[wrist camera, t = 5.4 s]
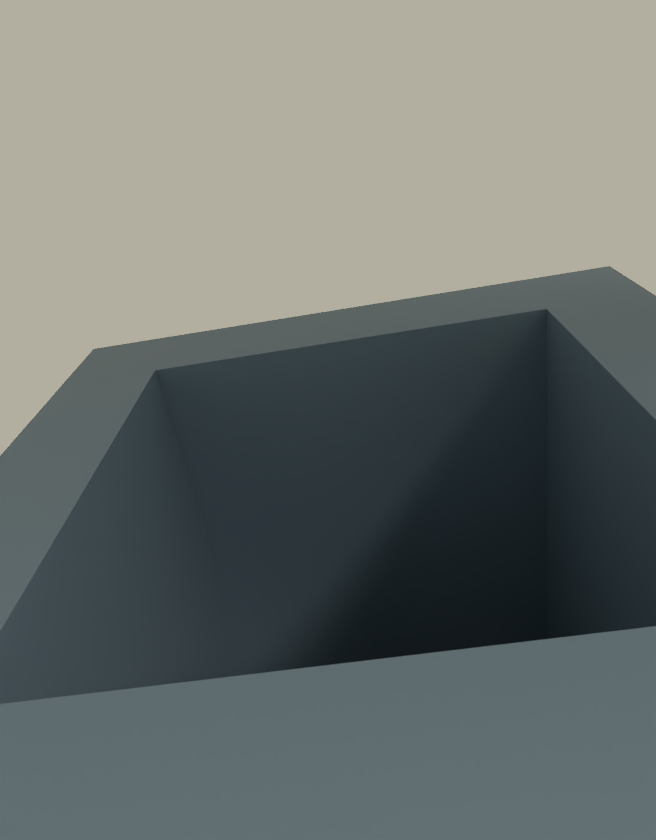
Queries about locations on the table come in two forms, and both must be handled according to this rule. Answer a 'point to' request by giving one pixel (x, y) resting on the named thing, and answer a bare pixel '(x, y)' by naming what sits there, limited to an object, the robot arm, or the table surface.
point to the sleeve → (342, 578)
